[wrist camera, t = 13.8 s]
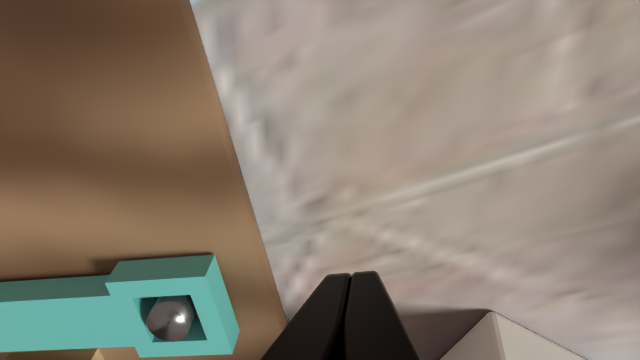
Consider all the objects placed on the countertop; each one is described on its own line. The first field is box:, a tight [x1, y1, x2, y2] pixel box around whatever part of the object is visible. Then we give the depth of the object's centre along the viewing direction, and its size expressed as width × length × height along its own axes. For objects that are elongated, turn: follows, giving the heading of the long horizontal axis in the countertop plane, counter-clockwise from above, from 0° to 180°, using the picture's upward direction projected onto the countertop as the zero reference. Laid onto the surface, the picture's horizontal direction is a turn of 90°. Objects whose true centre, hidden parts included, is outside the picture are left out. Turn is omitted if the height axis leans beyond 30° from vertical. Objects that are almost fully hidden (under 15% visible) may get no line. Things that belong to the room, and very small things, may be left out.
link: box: [0, 255, 240, 358], centre depth 26 cm, size 20×4×1 cm, turn 100°
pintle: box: [146, 295, 197, 342], centre depth 25 cm, size 2×2×3 cm
